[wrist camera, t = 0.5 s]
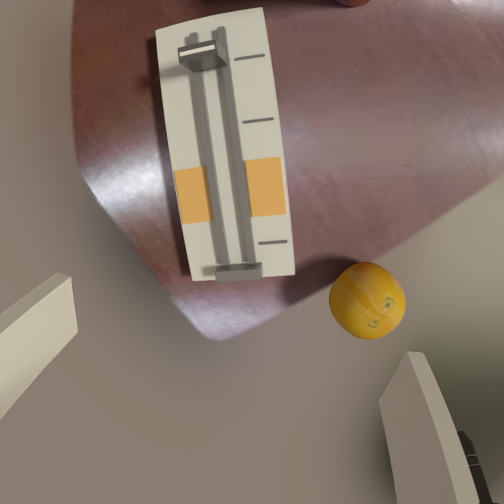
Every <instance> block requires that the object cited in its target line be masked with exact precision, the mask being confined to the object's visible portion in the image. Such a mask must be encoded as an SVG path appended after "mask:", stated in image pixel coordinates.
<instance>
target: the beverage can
mask: <svg viewBox="0 0 504 504" xmlns="http://www.w3.org/2000/svg"><path fill="white" fill-rule="evenodd" d="M334 1H336V2H337V3H340V4H342V5H346V6H361V5H364V4H366V3H368V2H369V1H370V0H334Z"/></svg>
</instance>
